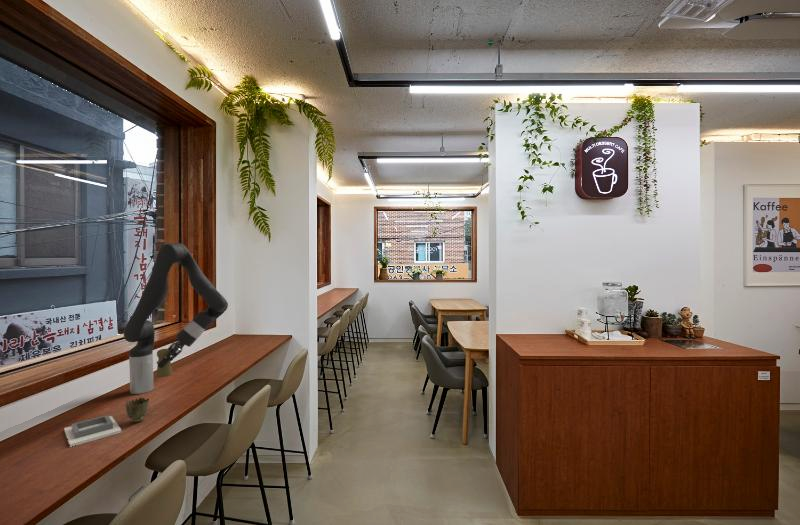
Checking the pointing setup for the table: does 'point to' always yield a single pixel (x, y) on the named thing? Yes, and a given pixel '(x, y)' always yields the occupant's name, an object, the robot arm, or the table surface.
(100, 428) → the socket board
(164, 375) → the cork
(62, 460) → the table surface
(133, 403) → the cup
